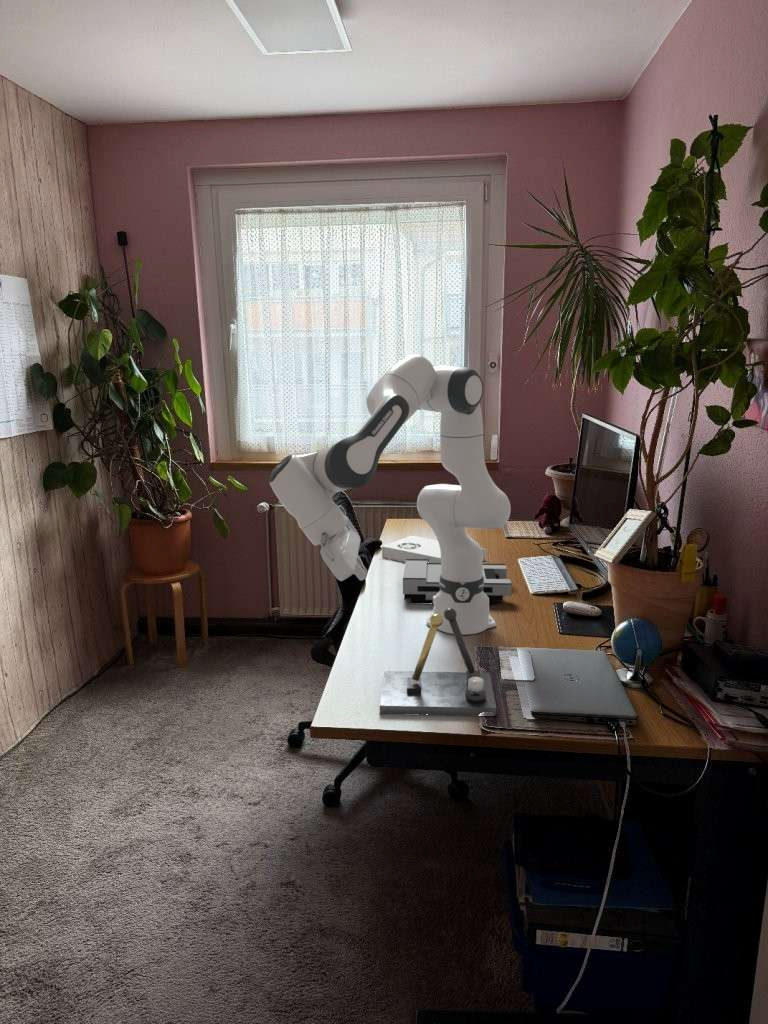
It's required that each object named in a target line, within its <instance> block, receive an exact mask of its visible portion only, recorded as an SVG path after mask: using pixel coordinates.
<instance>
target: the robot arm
mask: <svg viewBox="0 0 768 1024" xmlns="http://www.w3.org/2000/svg"><path fill="white" fill-rule="evenodd" d="M483 395H484V383H483V380H482V377H481V375H480V374H479V373H478V371H476V370H475V369H473V368H470V367H466V366H454V365H453V366H452V365H436V366H435V365H433V364H432V361H430V360H429V359H428V358H426V357H425V356H423V355H420V354H408V355H407V356H404V357H403V358H402V359H400V360H399V361H397V362H396V363H395V364H394V365H392V367H390V368H389V369H388V370H387V371H386V372H385V373H384V374H383V375H382V376H381V377H380V378H379V379H378V380H377V381H376V383H375V384H374V385H373V386H372V387H371V390H370V392H369V393H368V394H367V397H366V407H367V411H368V413H369V414H370V417H369V418H368V419H367V420H366V422H365V423H364V424H363V425H362V427H361V428H360V429H359V430H358V432H356V433H355V434H354V435H351V436H347V437H345V438H343V439H341V440H340V441H336V443H334V444H332V445H330V446H328V447H326V448H322V449H321V450H318V451H314V452H311V453H304V454H288V455H287V456H285V457H284V458H282V460H281V461H279V462H278V463H277V464H276V465H275V466H274V468H273V469H272V471H271V472H270V474H269V476H268V477H269V479H268V482H269V486H270V487H271V489H272V491H273V493H274V494H275V495H274V496H276V497H277V499H278V500H279V503H281V505H282V506H283V507H284V509H285V510H286V511H287V513H289V514H290V515H291V516H292V517H294V519H295V520H296V522H297V525H298V527H299V529H301V531H302V532H303V533H304V535H305V536H306V537H307V539H308V540H309V541H310V542H311V544H312V545H313V546H318V545H319V546H321V548H320V551H319V552H320V553H319V554H320V556H321V558H322V559H323V561H324V563H325V564H326V565H327V567H328V569H329V570H330V571H331V573H332V574H333V576H334V577H335V578H336V580H338V581H340V582H343V581H345V580H346V579H348V578H350V577H352V576H353V575H354V576H356V578H357V579H358V580H359V581H362V582H363V580H366V579H367V576H368V570H367V568H366V567H365V565H364V564H363V561H362V559H361V557H360V555H359V550H360V545H361V540H362V539H361V537H360V535H359V532H358V530H357V529H356V528H355V526H354V525H353V523H352V521H350V519H349V517H348V516H347V512H346V510H345V509H344V507H343V506H342V505H337V504H336V502H335V501H334V500H333V496H334V495H335V494H336V493H340V492H344V491H347V490H351V489H357V488H358V489H359V488H361V487H364V486H365V485H367V484H368V483H369V482H371V481H372V479H373V477H374V475H375V473H376V471H377V468H378V464H379V460H380V457H381V455H382V453H383V452H384V450H385V449H386V447H387V446H388V445H389V443H390V442H391V441H392V439H393V438H394V436H395V435H396V434H397V433H398V431H399V430H400V429H401V428H402V426H403V425H404V424H405V423H407V421H408V420H409V419H410V418H411V417H412V416H413V415H414V414H415V413H416V412H417V411H420V410H424V411H428V412H434V413H440V424H439V435H440V437H439V441H440V443H439V444H440V445H439V447H440V449H439V450H440V462H441V465H442V466H443V468H444V469H445V470H446V471H448V472H449V473H451V474H452V475H453V476H454V477H455V479H457V482H458V483H459V484H450V483H437V484H430V485H425V486H424V487H423V488H422V489H421V490H420V492H419V494H418V496H417V500H416V508H417V512H418V515H419V516H420V517H421V519H422V520H423V521H425V522H426V523H427V524H428V525H429V526H430V528H431V531H433V533H434V536H436V540H438V542H439V546H440V551H441V575H440V579H439V584H440V586H439V588H440V591H439V592H438V593H437V594H436V596H433V603H434V604H433V608H432V611H431V612H430V615H428V618H427V620H426V625H427V626H429V627H430V626H431V623H430V617H431V616H432V615H433V614H440V615H441V616H442V618H443V623H442V625H441V626H439V627H438V629H437V630H439V631H441V632H445V633H447V634H452V635H454V634H453V631H452V628H451V626H450V623H449V621H448V620H446V619H445V617H444V611H445V610H446V609H447V608H453V609H454V610H455V611H456V613H457V616H456V621H457V623H458V626H459V629H460V631H461V634H462V636H465V635H475V634H479V633H482V632H484V631H485V630H487V629H490V628H494V627H496V625H497V624H496V621H495V619H494V618H493V617H492V616H491V615H490V605H489V597H487V595H486V594H485V593H484V592H483V590H484V577H483V575H482V564H484V563H483V562H484V561H483V552H482V549H483V548H482V547H481V545H480V544H479V543H478V542H477V541H476V540H475V539H473V538H471V537H470V535H469V534H468V533H467V530H466V528H468V529H473V530H474V529H475V530H496V529H497V530H498V529H501V528H503V526H505V525H506V523H507V522H508V520H509V519H510V516H511V511H512V509H511V502H510V500H509V498H508V496H507V495H506V493H505V492H504V491H503V490H501V489H500V488H499V487H498V486H497V485H496V484H495V481H494V480H493V479H492V477H491V476H490V474H489V471H488V468H487V465H486V460H485V453H484V452H485V450H484V422H483V412H482V407H481V401H482V398H483ZM481 548H482V549H481Z"/></svg>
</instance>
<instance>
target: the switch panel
mask: <svg viewBox="0 0 768 1024" xmlns="http://www.w3.org/2000/svg"><path fill="white" fill-rule="evenodd" d="M413 674H414V671H408V670H407V671H406V670H405V671H403V670H402V671H401V670H400V671H398V670H397V671H395V670H384V674H383V678H382V679H383V681H382V686H381V687H382V688H381V692H380V693H381V694H380V700H379V715H389V714H419V715H418V716H435V715H450V716H449V717H479V716H478V715H479V714H480V713H482V712H493V713H496V714H497V705H496V704H497V703H496V699H495V694H494V693H495V692H494V688H493V683H492V678H491V673H490V672H480V670H475V672H474V673H472V674H469V673H468V671H467V670H465V672H461V671H460V672H458V671H457V672H453V671H452V672H450V671H448V672H447V671H422V674H421V676H420V679H419V681H415V680H413V679H412V677H413ZM471 677H480V678H482V679H483V680H484V683H483V690H482V691H479V692H474V691H470V690H469V689H468V679H469V678H471ZM422 714H423V715H422ZM426 714H428V715H426ZM454 715H455V716H454ZM458 715H460V716H458Z"/></svg>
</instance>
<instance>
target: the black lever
mask: <svg viewBox="0 0 768 1024" xmlns="http://www.w3.org/2000/svg"><path fill="white" fill-rule="evenodd" d="M456 616H457V613H456V611H455V610H454V609H453V608H447V609H446V610H445V611H444V617H445V619H446V620H448V621H449V623H450V626H451V628H452V631H453V634H452V635H453V636H454V638H455V641H456V645H457V646H458V649H459V652H460V654H461V657H462V659H463V660H462V661H463V662H464V664H465V668H466V671H468V673H469V674H472V673H474V672H475V671H476V669H475V667H474V663H473V661H472V658H471V656H470V653H469V650H468V647H467V645H466V643H465V640H464V637H463V635H462V634H461V631H460V629H459V626H458V623H457V621H456Z"/></svg>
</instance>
